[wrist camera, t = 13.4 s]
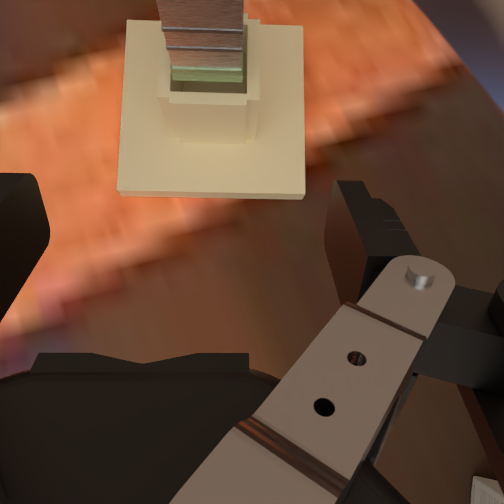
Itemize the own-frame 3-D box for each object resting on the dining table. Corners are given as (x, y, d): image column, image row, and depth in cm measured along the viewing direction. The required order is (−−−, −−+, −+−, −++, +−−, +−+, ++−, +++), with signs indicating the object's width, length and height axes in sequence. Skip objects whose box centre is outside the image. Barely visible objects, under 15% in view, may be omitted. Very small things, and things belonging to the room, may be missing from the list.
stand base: (121, 196, 33) (89, 160, 26) (131, 32, 36) (104, -44, 28) (302, 199, 34) (321, 165, 27) (300, 37, 36) (317, -36, 29)
